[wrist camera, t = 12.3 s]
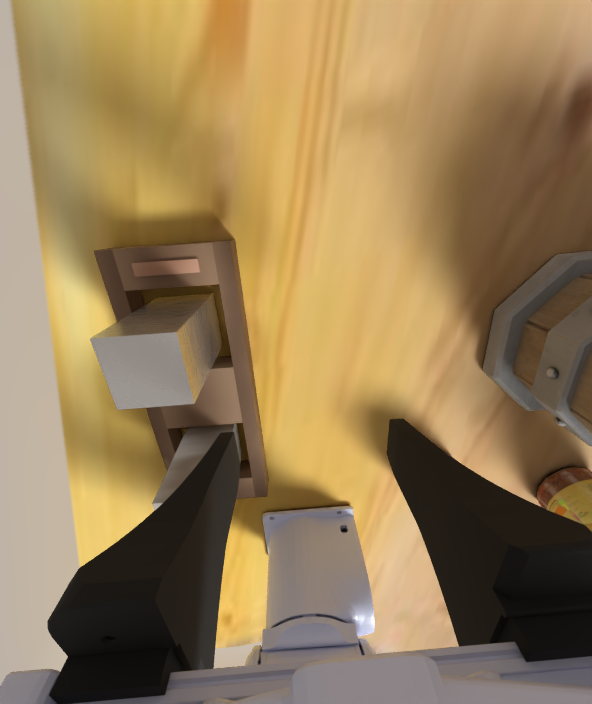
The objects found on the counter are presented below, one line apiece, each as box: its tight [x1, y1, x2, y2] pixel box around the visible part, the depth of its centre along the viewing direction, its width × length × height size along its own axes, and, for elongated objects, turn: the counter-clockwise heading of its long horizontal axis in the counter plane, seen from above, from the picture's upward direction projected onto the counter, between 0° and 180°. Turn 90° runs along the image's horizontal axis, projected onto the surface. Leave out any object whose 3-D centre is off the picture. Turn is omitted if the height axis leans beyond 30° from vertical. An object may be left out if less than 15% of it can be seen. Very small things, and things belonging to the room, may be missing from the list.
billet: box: [90, 293, 223, 410], centre depth 18 cm, size 4×4×8 cm
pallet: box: [94, 240, 268, 510], centre depth 20 cm, size 8×22×8 cm, turn 4°
